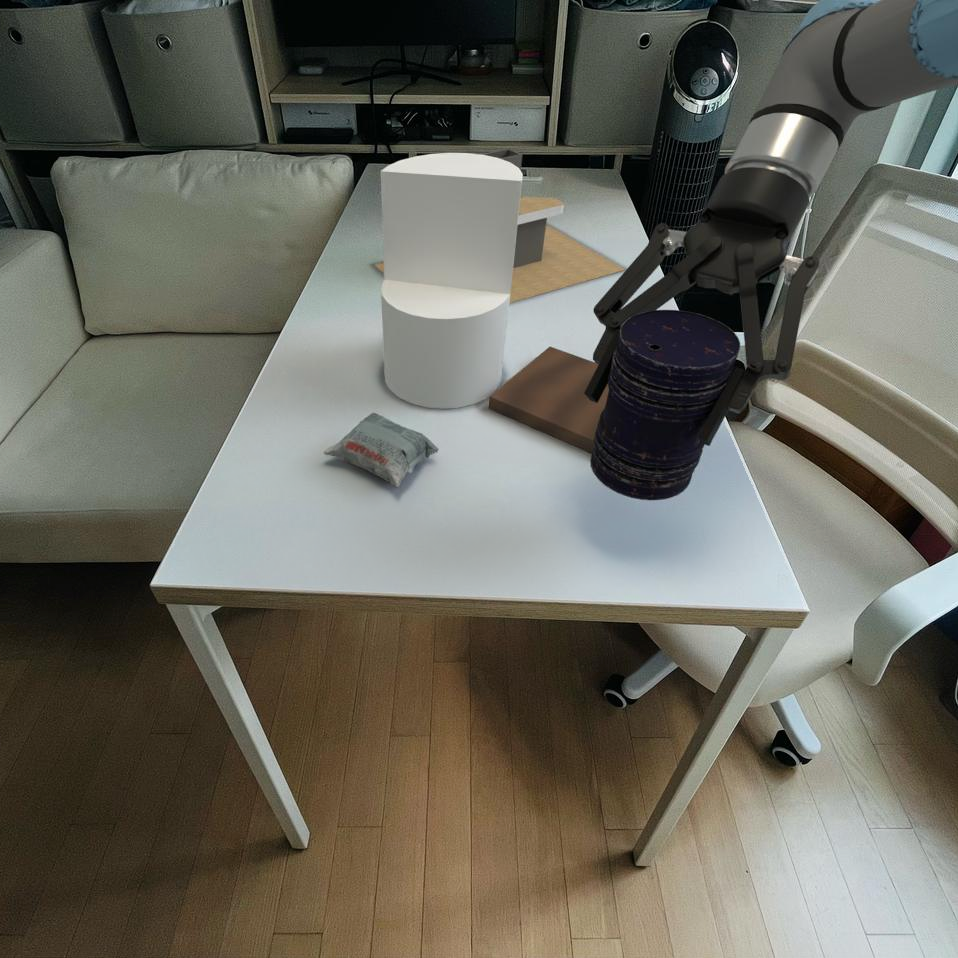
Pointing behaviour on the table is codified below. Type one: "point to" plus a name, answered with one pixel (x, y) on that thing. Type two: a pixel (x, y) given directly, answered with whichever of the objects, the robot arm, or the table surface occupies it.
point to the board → (553, 397)
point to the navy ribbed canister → (660, 401)
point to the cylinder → (447, 275)
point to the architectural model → (546, 248)
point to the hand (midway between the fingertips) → (644, 419)
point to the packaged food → (383, 448)
